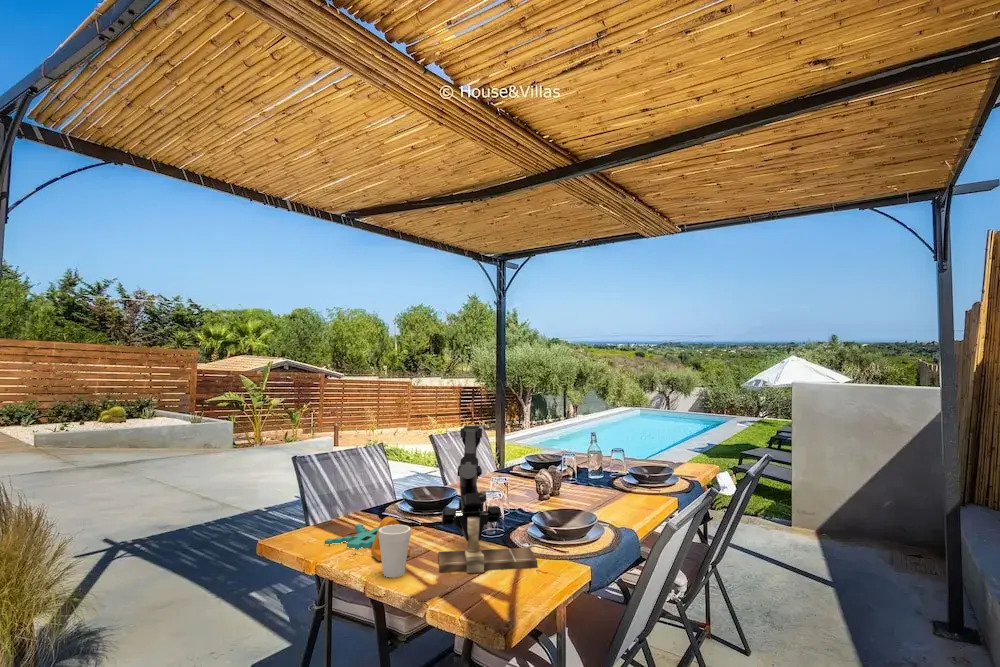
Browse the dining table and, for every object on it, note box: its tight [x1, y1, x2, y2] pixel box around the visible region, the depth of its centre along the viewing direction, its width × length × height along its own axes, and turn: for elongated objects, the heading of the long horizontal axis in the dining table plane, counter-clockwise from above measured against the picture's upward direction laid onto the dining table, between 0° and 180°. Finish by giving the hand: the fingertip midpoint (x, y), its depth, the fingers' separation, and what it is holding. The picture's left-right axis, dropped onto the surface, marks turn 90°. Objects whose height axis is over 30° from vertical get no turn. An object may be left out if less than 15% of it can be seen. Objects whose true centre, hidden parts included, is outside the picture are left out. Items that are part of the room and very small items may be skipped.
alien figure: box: [324, 523, 379, 550], centre depth 189 cm, size 20×2×20 cm
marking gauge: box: [464, 516, 485, 574], centre depth 164 cm, size 5×10×14 cm, turn 8°
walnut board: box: [437, 547, 538, 573], centre depth 167 cm, size 30×12×2 cm, turn 98°
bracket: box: [370, 516, 411, 562], centre depth 172 cm, size 11×7×12 cm, turn 122°
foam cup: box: [378, 524, 412, 578], centre depth 159 cm, size 10×9×13 cm
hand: (473, 540), depth 166 cm, fingers closed on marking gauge, 4 cm apart
